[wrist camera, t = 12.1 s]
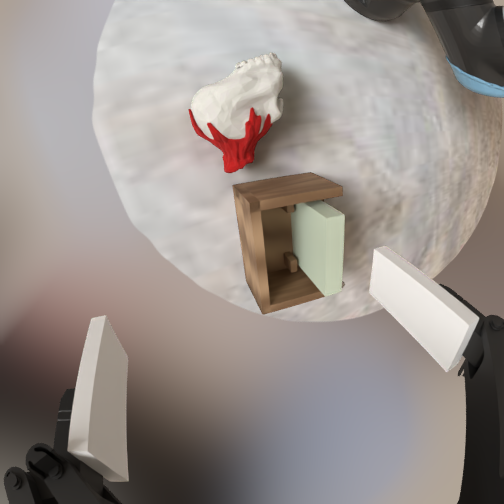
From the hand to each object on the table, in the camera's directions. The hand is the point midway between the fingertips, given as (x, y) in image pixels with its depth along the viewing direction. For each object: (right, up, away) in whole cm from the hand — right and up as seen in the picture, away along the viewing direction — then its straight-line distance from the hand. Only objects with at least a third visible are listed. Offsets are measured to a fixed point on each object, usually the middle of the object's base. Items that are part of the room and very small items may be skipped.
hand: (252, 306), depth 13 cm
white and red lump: (-3, +21, +22) cm, 31 cm away
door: (+7, +6, +31) cm, 33 cm away
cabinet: (+4, +6, +31) cm, 32 cm away
